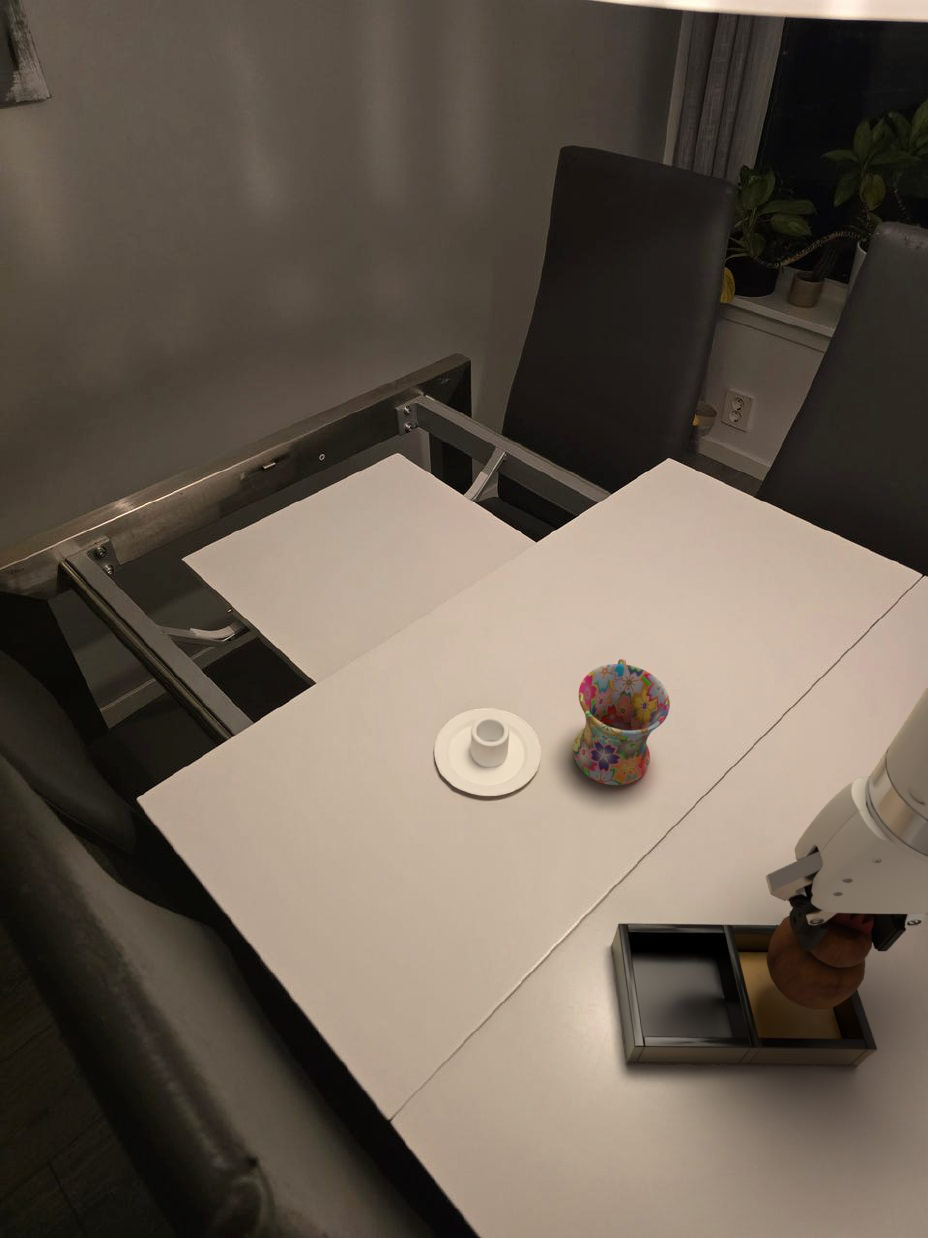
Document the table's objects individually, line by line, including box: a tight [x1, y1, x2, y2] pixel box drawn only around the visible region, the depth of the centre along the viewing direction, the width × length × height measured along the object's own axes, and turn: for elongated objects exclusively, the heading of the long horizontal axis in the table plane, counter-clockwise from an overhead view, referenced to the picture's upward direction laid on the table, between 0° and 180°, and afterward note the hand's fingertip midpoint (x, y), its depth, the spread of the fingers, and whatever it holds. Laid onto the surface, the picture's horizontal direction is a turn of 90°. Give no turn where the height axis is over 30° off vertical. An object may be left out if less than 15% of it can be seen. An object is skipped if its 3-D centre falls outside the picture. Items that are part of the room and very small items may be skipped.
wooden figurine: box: [766, 913, 874, 1009], centre depth 60 cm, size 7×6×15 cm
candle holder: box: [433, 707, 542, 797], centre depth 87 cm, size 12×12×4 cm
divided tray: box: [610, 922, 878, 1068], centre depth 68 cm, size 19×10×5 cm, turn 89°
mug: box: [572, 658, 671, 786], centre depth 85 cm, size 12×9×11 cm
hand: (837, 930), depth 59 cm, fingers closed on wooden figurine, 4 cm apart
